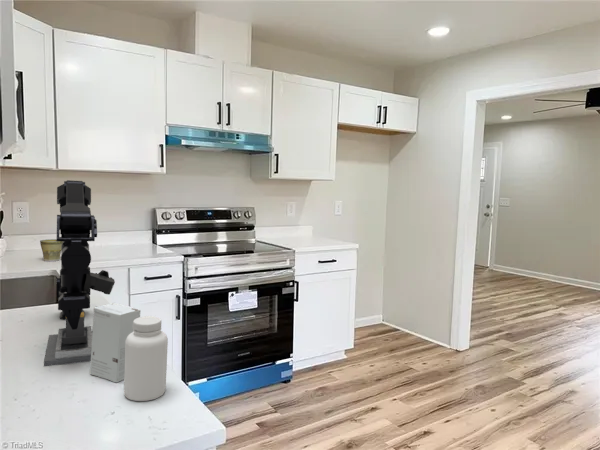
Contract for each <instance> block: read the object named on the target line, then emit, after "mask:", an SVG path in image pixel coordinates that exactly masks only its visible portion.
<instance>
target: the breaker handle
mask: <svg viewBox="0 0 600 450" xmlns="http://www.w3.org/2000/svg"><path fill="white" fill-rule="evenodd" d="M84 327H85V311H84V312H81V315H80V319H79V324H78V328H77V329H74V330H72V328H71V326H70V324H69V322H68V320H67V318H66V319H65V328H66V333H64V336H63V345H66V344H76V343H86V331H84Z"/></svg>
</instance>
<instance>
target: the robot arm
mask: <svg viewBox="0 0 600 450" xmlns="http://www.w3.org/2000/svg"><path fill="white" fill-rule="evenodd" d="M91 204H92V188H91V187H89V186H88V185H86V182H85V181H83V180H72V179H71V180H68V179H67V180H63V183H62V184H61V185H58V186H57V187H56V205H59V212H60V214H56V239H57V242H63V244H61V254H60V262H61V267H60V270H59V277H57V278H56V299H58V301H57V310H58V311H60V315H59V320H66V318H67V320H68V322H69V324H70V326H71V328H72V330H74V329H77V328H78V324H79V319H80V315H81V312H84V313H85V310H86V309H90V308H91V296H90V295H91V290H93V291H97V292H99V293H103V294H105V295H111V293H112V291H113V288H114V285H115V282H116V281H115V278H113V277H111V276H109V275H110V273H109V271H108V270H104V269H101V270H100V272H95V273H94V272H91V267H90V265H91V261H92V256H91V252H90V243H89V242H95V239H96V238H98V224H97V222H98V220H97V219H96V216H94V214H92V212H91V208H90V206H91ZM84 309H85V310H84Z"/></svg>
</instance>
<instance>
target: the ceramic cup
mask: <svg viewBox="0 0 600 450" xmlns="http://www.w3.org/2000/svg"><path fill="white" fill-rule="evenodd" d="M39 242H40V247H41V251H42V252H41V253H42V258H43V260H44V262H47V263H48V262H58V261H59V262H60V260H61V244H63V242H57V238H56V239H55V238H52V239H51V238H48V239H40V240H39Z"/></svg>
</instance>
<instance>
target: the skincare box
mask: <svg viewBox="0 0 600 450" xmlns="http://www.w3.org/2000/svg"><path fill="white" fill-rule="evenodd" d="M139 317H141V309H140V308H135V307H132V306H129V305H126V304H121V303H116V302H112V303H107V304H104V305H99V306H95V307H93V319H92V331H93V332H92V347H91V361H89V362H90V365H89V373H90V375H91V376H96V377H97V378H98V377H99V378H102V379H105V380H108V381H111V382H113V383H120V382H121V381H124V373H125V343H126V339H127V337H128V335H129V334H130V333H132V332H134V331H133V321H134V320H135V319H136V318H139Z"/></svg>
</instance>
